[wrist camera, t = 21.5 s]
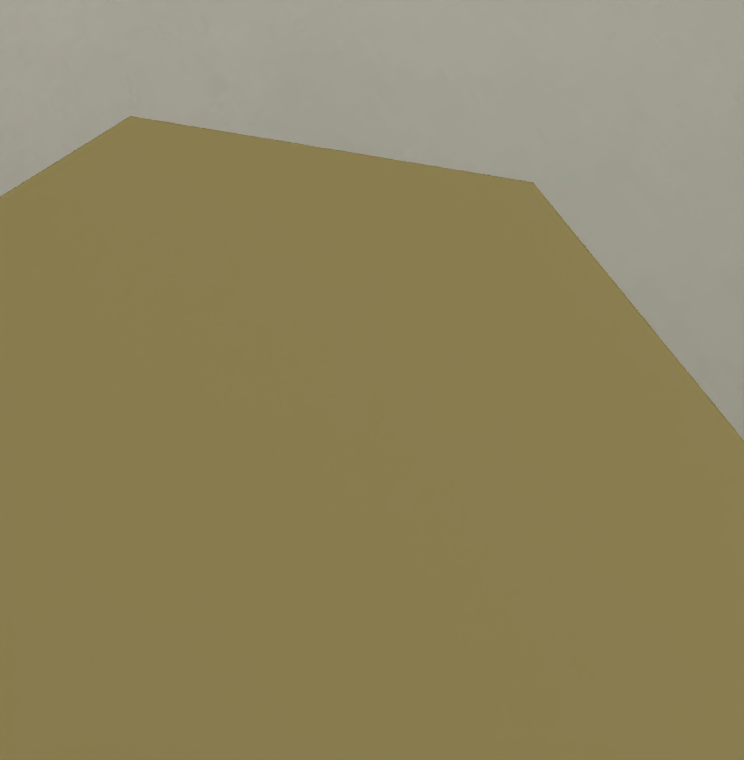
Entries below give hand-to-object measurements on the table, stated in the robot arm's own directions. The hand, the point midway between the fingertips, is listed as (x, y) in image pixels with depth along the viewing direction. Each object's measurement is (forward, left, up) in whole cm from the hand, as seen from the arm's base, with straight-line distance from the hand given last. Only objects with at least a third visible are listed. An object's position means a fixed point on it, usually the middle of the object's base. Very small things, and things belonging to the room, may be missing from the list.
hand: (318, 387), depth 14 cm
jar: (0, -3, -6) cm, 7 cm away
